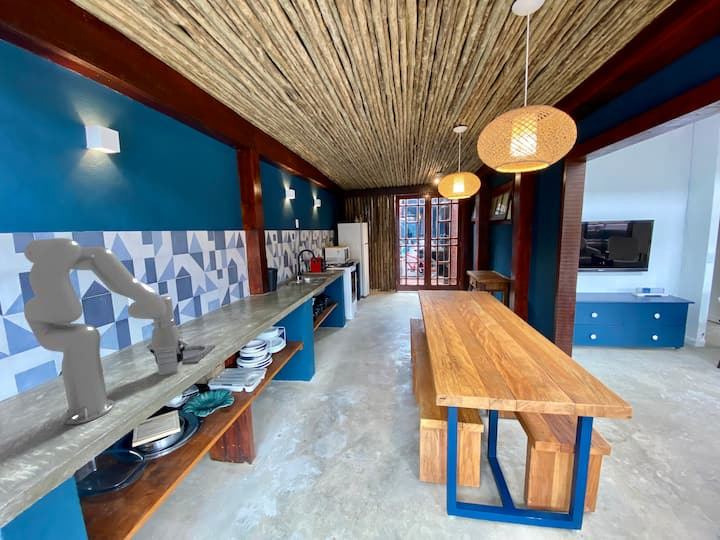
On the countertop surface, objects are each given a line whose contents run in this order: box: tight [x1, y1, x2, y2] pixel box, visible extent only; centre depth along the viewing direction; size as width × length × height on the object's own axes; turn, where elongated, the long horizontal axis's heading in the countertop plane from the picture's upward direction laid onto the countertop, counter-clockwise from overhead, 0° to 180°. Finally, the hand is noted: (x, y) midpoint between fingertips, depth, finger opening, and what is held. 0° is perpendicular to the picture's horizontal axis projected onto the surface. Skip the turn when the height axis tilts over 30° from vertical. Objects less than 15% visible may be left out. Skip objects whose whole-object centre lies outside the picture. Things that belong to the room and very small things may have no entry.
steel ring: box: [183, 344, 208, 360], centre depth 144 cm, size 15×15×2 cm
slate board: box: [182, 344, 216, 365], centre depth 144 cm, size 20×16×1 cm
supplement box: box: [155, 346, 183, 376], centre depth 127 cm, size 7×7×13 cm
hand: (169, 361), depth 127 cm, fingers closed on supplement box, 8 cm apart
